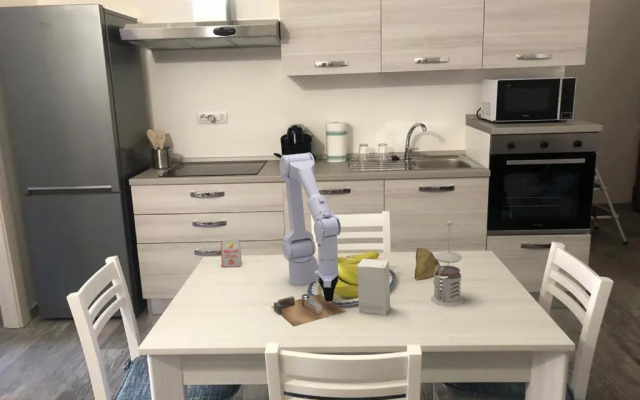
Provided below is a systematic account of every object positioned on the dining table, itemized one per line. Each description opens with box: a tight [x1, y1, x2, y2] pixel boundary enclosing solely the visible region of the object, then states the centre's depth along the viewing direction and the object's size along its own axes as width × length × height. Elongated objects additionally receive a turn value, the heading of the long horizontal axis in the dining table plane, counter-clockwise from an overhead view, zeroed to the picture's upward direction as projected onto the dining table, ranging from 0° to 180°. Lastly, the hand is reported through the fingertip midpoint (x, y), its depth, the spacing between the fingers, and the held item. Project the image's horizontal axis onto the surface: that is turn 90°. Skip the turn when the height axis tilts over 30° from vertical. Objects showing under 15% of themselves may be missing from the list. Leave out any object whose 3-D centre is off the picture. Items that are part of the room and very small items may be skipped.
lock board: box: [271, 293, 347, 327], centre depth 153 cm, size 17×15×4 cm
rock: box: [414, 247, 441, 281], centre depth 177 cm, size 11×9×10 cm
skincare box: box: [356, 258, 391, 316], centre depth 150 cm, size 8×7×16 cm
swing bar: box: [301, 293, 322, 315], centre depth 153 cm, size 9×2×3 cm, turn 30°
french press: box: [430, 220, 464, 307], centre depth 155 cm, size 10×12×25 cm
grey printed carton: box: [220, 239, 243, 269], centre depth 192 cm, size 4×7×10 cm, turn 91°
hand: (329, 300), depth 155 cm, fingers closed
